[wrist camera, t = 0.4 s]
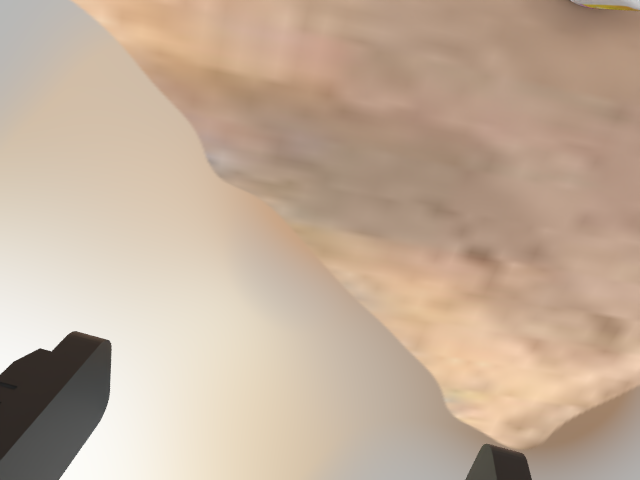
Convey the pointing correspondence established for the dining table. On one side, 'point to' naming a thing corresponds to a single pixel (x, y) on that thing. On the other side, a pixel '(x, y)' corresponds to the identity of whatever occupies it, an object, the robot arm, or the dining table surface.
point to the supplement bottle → (610, 4)
